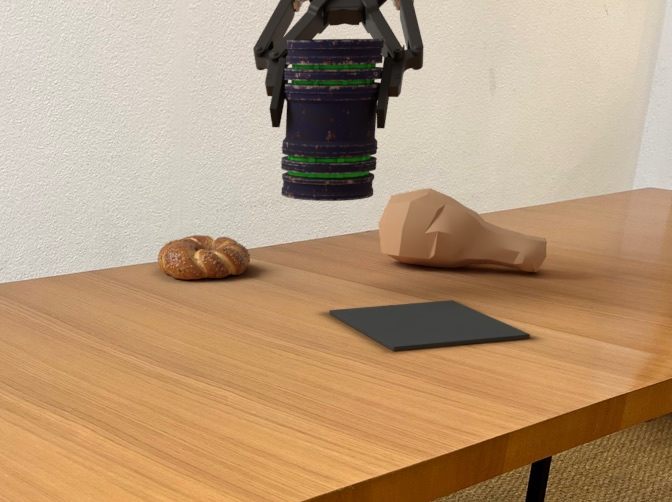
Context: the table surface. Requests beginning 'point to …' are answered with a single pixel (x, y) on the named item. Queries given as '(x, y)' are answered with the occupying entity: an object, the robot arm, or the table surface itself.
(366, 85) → the dark purple barrel
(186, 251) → the braided bread ring
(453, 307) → the coaster
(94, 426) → the table surface
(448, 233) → the squash
